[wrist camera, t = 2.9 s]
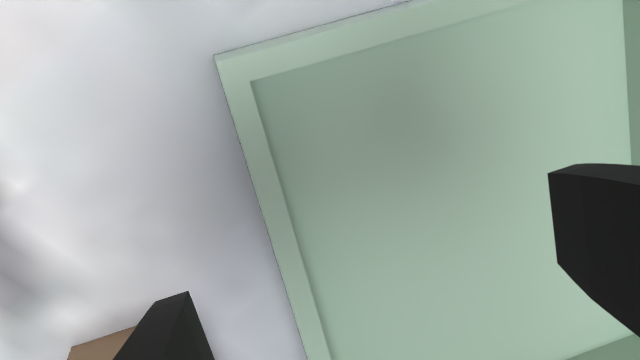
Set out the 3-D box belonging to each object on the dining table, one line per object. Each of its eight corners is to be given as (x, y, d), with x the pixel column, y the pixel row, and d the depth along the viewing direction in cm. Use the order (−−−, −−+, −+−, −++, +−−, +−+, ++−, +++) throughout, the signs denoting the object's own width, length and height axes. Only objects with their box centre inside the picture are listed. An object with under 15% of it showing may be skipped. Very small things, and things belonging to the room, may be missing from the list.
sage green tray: (643, 330, 27) (686, 361, 24) (334, 446, 25) (349, 492, 22) (623, -59, 21) (677, -67, 18) (212, 55, 19) (215, 62, 16)
